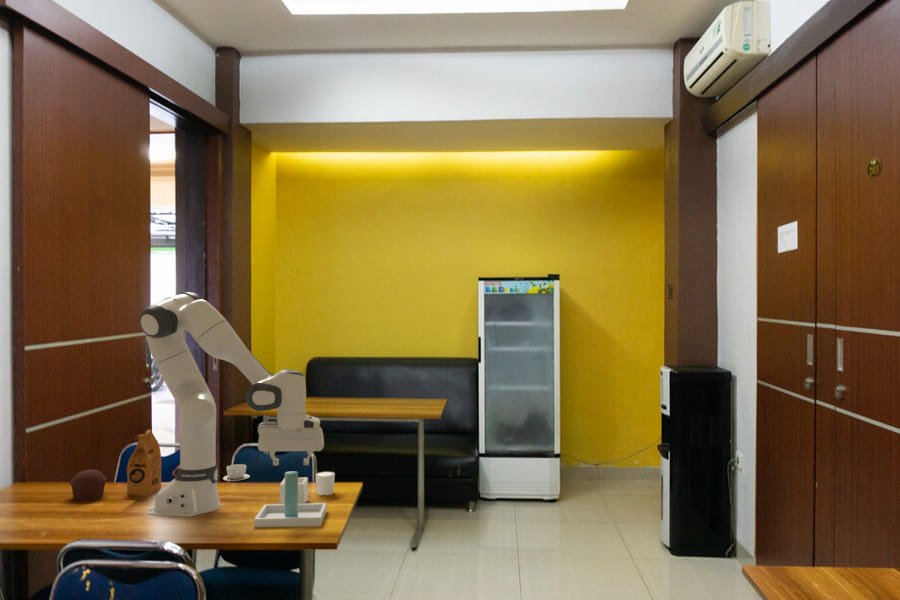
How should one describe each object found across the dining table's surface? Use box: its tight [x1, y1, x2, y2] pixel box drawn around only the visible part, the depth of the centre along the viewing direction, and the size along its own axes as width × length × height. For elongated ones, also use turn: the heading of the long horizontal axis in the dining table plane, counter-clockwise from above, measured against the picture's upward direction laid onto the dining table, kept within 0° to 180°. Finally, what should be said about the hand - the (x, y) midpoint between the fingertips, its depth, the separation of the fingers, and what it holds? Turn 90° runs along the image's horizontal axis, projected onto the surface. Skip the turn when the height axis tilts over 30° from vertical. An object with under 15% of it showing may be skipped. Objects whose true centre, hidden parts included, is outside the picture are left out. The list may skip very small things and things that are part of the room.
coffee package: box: [126, 429, 162, 497], centre depth 230 cm, size 10×12×22 cm
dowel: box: [284, 470, 299, 517], centre depth 201 cm, size 4×4×14 cm
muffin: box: [69, 469, 108, 501], centre depth 222 cm, size 12×11×10 cm
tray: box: [253, 502, 327, 528], centre depth 201 cm, size 20×14×3 cm
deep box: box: [279, 476, 309, 504], centre depth 216 cm, size 8×8×8 cm
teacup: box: [222, 463, 251, 482], centre depth 249 cm, size 10×10×5 cm
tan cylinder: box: [315, 471, 336, 496], centre depth 229 cm, size 7×7×7 cm
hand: (291, 464), depth 201 cm, fingers open, 8 cm apart
